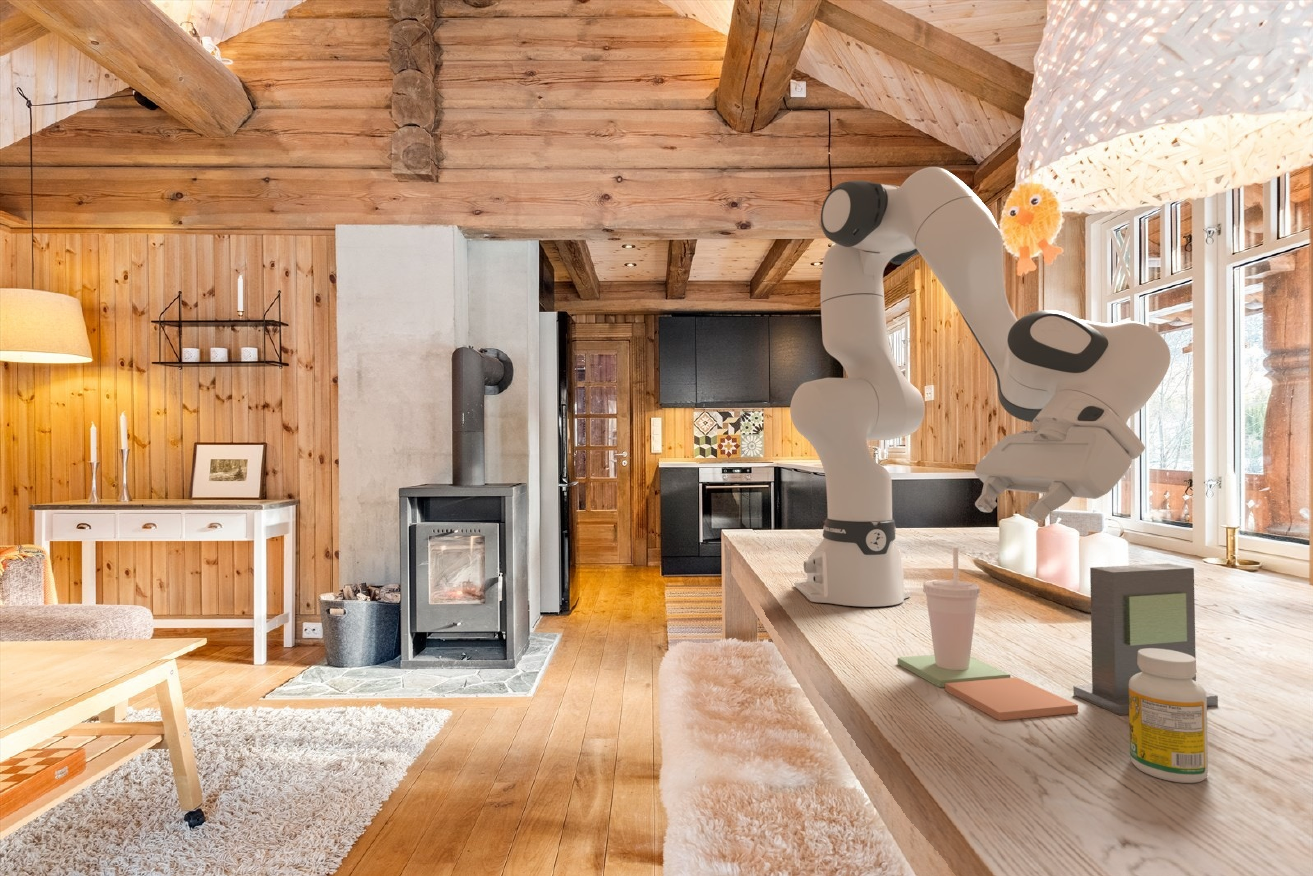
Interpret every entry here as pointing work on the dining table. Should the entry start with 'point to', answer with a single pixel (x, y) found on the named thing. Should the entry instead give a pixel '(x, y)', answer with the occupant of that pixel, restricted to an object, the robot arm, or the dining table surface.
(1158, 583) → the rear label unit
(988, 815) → the dining table surface
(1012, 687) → the terracotta pad
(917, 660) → the sage pad
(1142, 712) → the supplement bottle
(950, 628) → the smoothie
